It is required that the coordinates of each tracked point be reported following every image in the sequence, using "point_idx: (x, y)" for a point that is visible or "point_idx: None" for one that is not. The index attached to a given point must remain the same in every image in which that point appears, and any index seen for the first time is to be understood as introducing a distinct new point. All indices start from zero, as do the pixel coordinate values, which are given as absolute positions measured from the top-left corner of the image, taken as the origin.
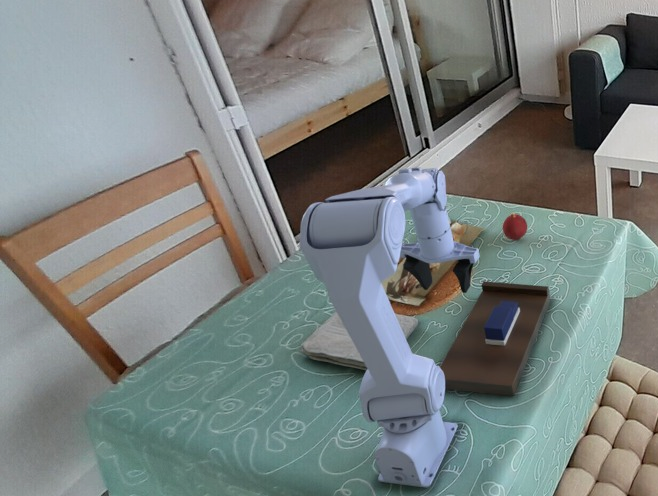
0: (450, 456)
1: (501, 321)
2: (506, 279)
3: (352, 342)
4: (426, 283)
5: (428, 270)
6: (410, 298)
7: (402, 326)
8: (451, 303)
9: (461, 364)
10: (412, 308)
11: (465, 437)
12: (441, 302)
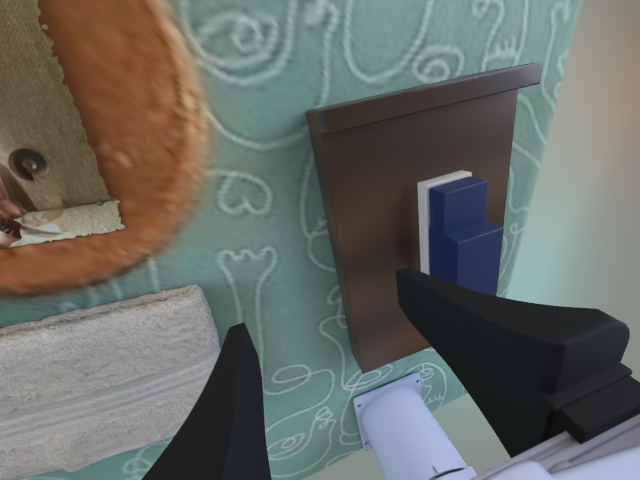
0: (425, 393)
1: (490, 276)
2: (326, 3)
3: (115, 424)
4: (257, 374)
5: (242, 381)
6: (59, 216)
7: (190, 337)
8: (219, 180)
9: (396, 335)
10: (114, 243)
11: (432, 373)
12: (184, 188)
